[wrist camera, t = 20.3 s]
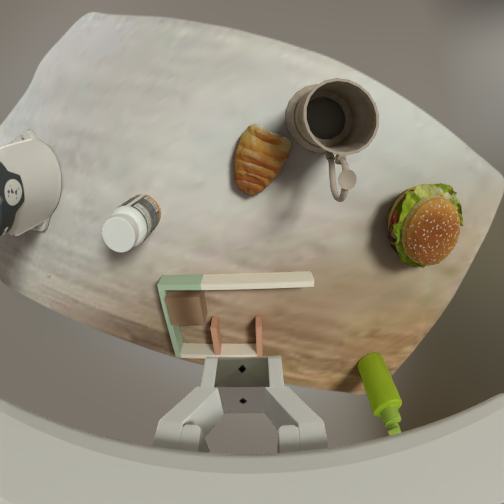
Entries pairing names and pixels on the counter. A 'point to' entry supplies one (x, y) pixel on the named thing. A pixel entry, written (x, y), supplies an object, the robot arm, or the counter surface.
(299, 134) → the mug
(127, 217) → the pill bottle
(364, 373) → the soap dispenser
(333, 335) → the counter surface
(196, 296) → the block
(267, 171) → the pastry
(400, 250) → the food
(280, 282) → the box
